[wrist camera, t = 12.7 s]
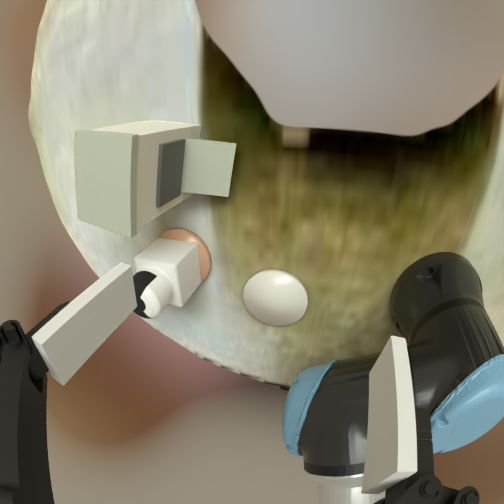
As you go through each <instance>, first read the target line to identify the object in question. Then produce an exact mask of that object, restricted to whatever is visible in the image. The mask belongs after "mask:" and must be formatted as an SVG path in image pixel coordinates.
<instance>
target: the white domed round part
mask: <svg viewBox="0 0 504 504" xmlns="http://www.w3.org/2000/svg"><path fill="white" fill-rule="evenodd" d="M243 300H244V303H245V306H246V308H247V309H248V311H249V312H250V313H251V314H252V315H253V316H254V317H255V318H257V319H258V320H260V321H262V322H264V323H266V324H270V325H275V326H285V325H290V324H292V323H295V322H296V321H298V320H299V319H300V318H301V317H302V316H303V315H304V313H305V311H306V309H307V304H308V293H307V290H306V287H305V286H304V284H303V283H302V281H301V280H300V279H299V278H297V277H296V276H295V275H293V274H292V273H290V272H288V271H285V270H281V269H275V268H270V269H264V270H261V271H258V272H256V273H255V274H254V275H252V276H251V277H250V279H249V280H248V282H247V283H246V285H245V288H244V291H243Z"/></svg>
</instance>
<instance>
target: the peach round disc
mask: <svg viewBox="0 0 504 504" xmlns="http://www.w3.org/2000/svg"><path fill="white" fill-rule="evenodd" d="M159 238H163V239H171V240H178V241H185V242H193V243H197V244H198V252H199V263H200V273H201V283H202V282H203V281H204V280H205V278H206V277H207V276H208V274H209V273H210V270H211V265H212V261H211V255H210V252H209V250H208V248H207V246H206V245H205V243H204V242H203V241H202V240H201V238H200V237H198V236H197V235H196V234H194V233H193V232H191V231H189V230H186V229H182V228H173V229H169V230H167V231H166V232H164V233H163V234H162V235H161V236H159Z"/></svg>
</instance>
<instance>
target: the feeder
mask: <svg viewBox="0 0 504 504" xmlns="http://www.w3.org/2000/svg"><path fill="white" fill-rule="evenodd" d="M201 126H202V125H196V124H188V123H180V122H171V121H161V120H148V121H140V122H133V123H127V124H120V125H114V126H109V127H103V128H98V129H93V130H78V131H75V143H74V155H75V186H76V201H77V212H78V220H81V221H84V222H87V223H89V224H92V225H95V226H98V227H101V228H104V229H107V230H110V231H113V232H116V233H119V234H122V235H125V236H127V237H130V238H131V237H133V236H134V235H136V234H137V230H138V229H140V228H141V227H143V226H144V225H146V224H147V223H149V222H150V221H152V220H153V219H155V218H156V217H158V216H159V215H161V214H162V213H164V212H166V211H167V210H169V209H170V208H172V207H173V206H175V205H176V204H178V203H180V202H181V201H183V200H184V199H186V198H188V197H189V196H191V195H193V194H194V193H197V194H207V195H215V196H224V197H228V196H229V189H230V182H231V175H232V169H233V162H234V156H235V149H236V143H228V142H220V141H211V140H202V139H200V134H201Z"/></svg>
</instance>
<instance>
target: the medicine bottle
mask: <svg viewBox="0 0 504 504" xmlns="http://www.w3.org/2000/svg"><path fill="white" fill-rule="evenodd" d="M134 262H135V267H136V271H137V273H136V274H135V275H134V276H133V282H134V289H135V296H136V302H137V307H136V308H135V309H134V310H133V311H134V312H135V313H136V314H137V315H139V316H141V317H144V318H155V317H157V316H158V315H159V314H160V313H161V311H162V310H163V309H164V308H165V307H166V306H167V304H168V305H172V306H176V307H183V305H184V304H185V303H186V301H187V300H188V299H189V298H190V296H191V295H192V294H193V292H194V291H195V290H196V289H197V287H198V286H199V285H200V283H201V273H200V263H199V252H198V244H197V243H193V242H185V241H178V240H171V239H163V238H158V239H157V240H156V241H155V242H153V243H152V244H151V245H149V246H148V247H147V248H146V249H144V250H143V251H142V252H141V253H139V254H138V255H137V256H136V257H135V258H134Z"/></svg>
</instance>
